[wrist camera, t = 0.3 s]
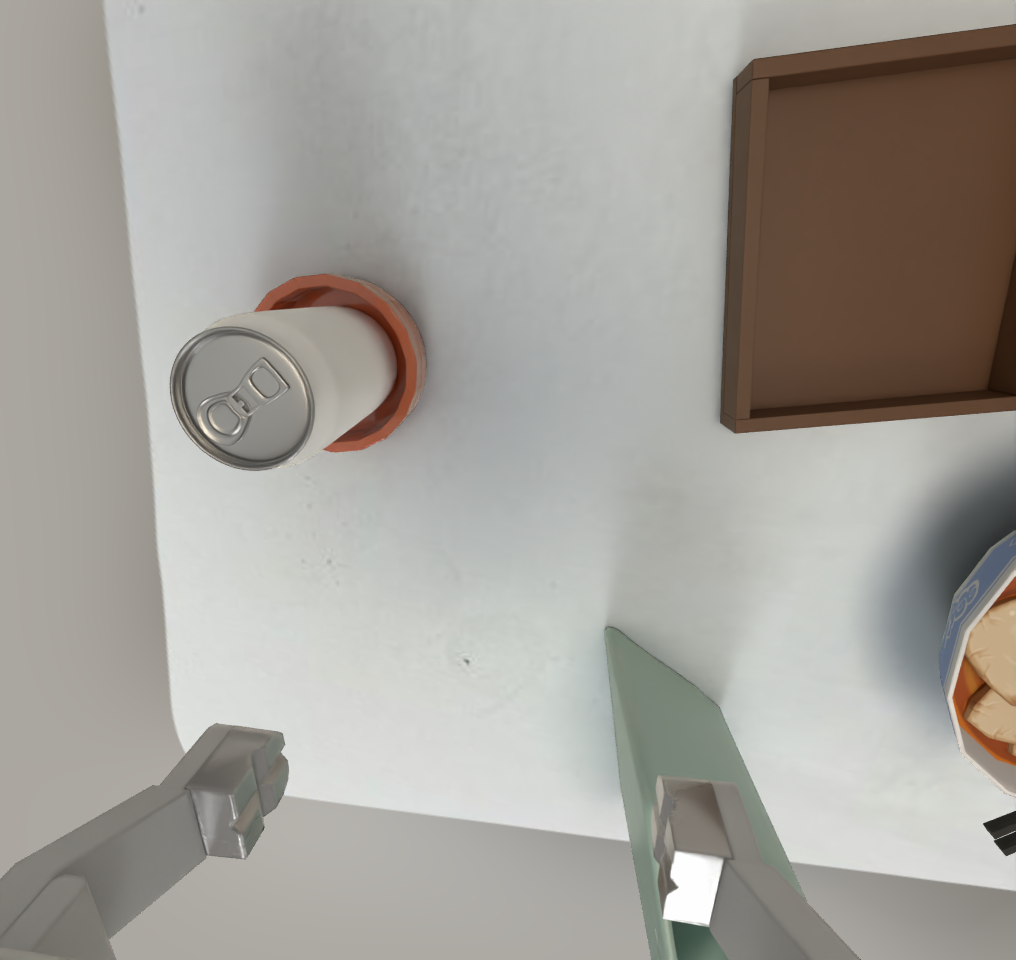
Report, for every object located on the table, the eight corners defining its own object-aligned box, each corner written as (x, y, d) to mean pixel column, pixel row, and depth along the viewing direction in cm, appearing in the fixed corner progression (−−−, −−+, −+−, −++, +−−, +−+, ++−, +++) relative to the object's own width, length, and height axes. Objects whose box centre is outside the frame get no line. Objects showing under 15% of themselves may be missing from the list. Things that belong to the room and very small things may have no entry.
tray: (732, 79, 26) (753, 58, 24) (1069, 35, 25) (1125, 8, 23) (720, 423, 32) (734, 433, 30) (991, 400, 31) (1029, 409, 28)
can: (270, 351, 31) (123, 385, 20) (348, 281, 30) (236, 275, 19) (344, 435, 33) (246, 510, 22) (421, 372, 31) (359, 418, 20)
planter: (721, 788, 42) (871, 1182, 23) (621, 795, 43) (690, 1183, 24) (717, 615, 37) (909, 949, 18) (603, 626, 37) (675, 959, 19)
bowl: (249, 285, 30) (221, 285, 28) (414, 267, 30) (401, 265, 27) (289, 444, 34) (266, 458, 31) (438, 431, 33) (429, 444, 30)
